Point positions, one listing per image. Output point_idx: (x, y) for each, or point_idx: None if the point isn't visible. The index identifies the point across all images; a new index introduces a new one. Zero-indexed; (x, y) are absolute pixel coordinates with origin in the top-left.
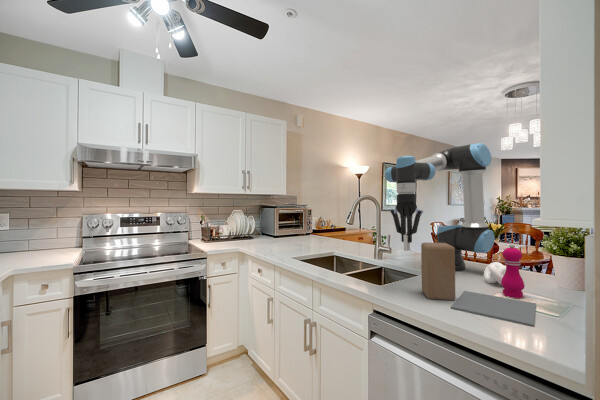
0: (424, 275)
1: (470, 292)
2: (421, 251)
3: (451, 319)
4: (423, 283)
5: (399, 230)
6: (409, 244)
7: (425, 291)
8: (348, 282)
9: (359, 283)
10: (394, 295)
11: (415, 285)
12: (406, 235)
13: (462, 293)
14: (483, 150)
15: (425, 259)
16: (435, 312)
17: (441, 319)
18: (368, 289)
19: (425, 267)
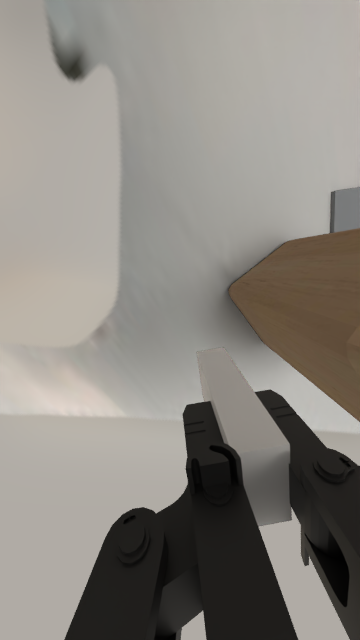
0: (278, 346)
1: (354, 197)
2: (312, 343)
3: (340, 414)
4: (254, 322)
5: (179, 633)
6: (237, 371)
7: (260, 336)
8: (12, 385)
9: (43, 367)
10: (187, 381)
11: (181, 243)
12: (278, 515)
13: (335, 229)
14: None
15: (340, 402)
16: (306, 406)
17: (325, 427)
18: (106, 392)
19: (311, 378)
